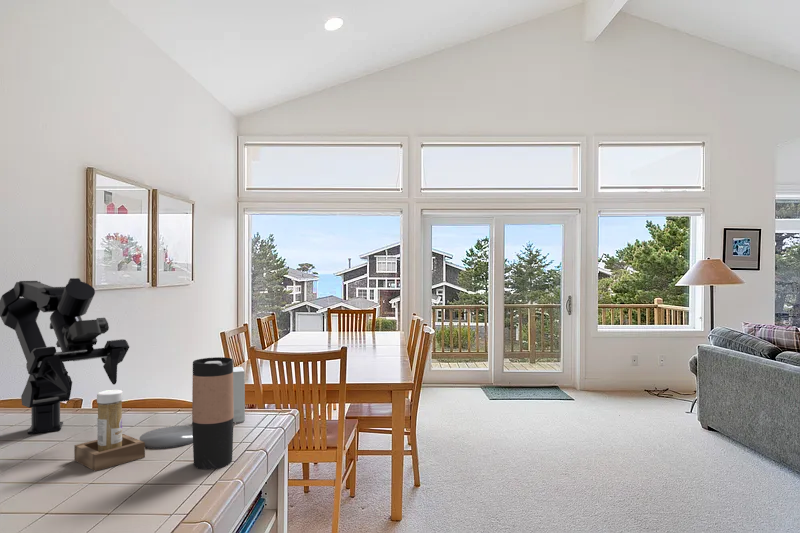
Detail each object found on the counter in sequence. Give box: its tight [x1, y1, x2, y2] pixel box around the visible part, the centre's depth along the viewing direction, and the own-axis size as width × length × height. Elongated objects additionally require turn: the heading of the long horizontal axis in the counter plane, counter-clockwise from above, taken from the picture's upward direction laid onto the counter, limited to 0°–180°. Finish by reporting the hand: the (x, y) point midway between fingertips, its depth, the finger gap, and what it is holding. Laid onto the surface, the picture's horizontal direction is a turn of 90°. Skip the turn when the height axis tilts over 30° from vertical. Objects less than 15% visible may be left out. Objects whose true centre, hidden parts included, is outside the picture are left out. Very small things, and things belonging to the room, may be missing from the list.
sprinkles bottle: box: [96, 389, 124, 452], centre depth 107 cm, size 5×5×14 cm
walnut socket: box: [73, 433, 146, 472], centre depth 107 cm, size 9×9×3 cm
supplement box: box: [233, 366, 246, 423], centre depth 135 cm, size 7×7×13 cm
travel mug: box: [191, 356, 234, 470], centre depth 105 cm, size 8×8×20 cm
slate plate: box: [139, 425, 193, 449], centre depth 120 cm, size 13×13×1 cm
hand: (92, 387), depth 112 cm, fingers open, 9 cm apart
